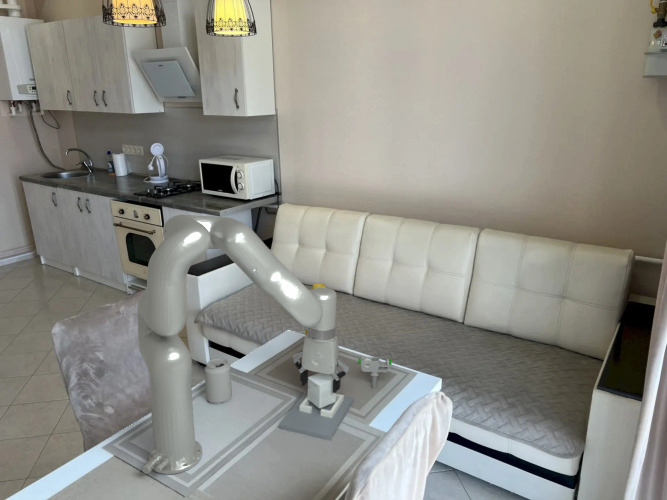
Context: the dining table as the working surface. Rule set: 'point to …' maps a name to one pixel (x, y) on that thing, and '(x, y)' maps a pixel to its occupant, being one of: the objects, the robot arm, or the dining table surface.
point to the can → (218, 380)
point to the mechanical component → (374, 367)
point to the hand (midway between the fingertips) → (320, 387)
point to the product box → (321, 390)
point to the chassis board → (316, 417)
